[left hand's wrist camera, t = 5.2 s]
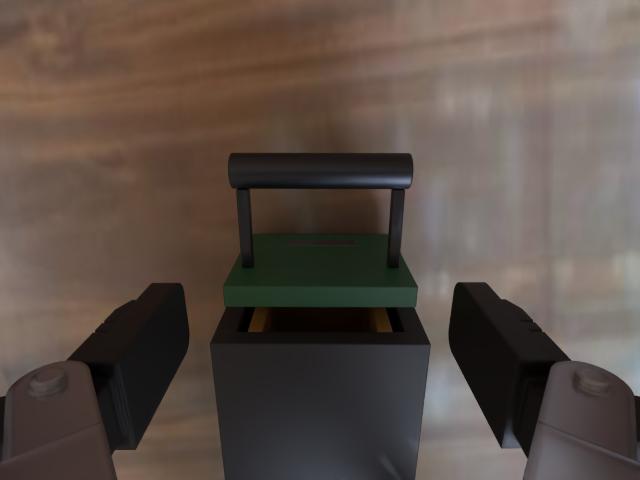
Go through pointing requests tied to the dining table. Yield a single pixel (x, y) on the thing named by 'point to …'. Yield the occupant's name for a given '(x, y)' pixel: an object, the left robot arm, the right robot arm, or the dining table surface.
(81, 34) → the dining table surface
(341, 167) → the drawer
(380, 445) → the cabinet
